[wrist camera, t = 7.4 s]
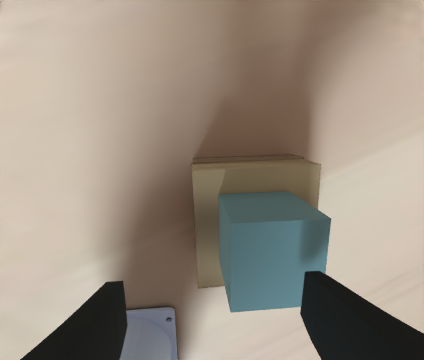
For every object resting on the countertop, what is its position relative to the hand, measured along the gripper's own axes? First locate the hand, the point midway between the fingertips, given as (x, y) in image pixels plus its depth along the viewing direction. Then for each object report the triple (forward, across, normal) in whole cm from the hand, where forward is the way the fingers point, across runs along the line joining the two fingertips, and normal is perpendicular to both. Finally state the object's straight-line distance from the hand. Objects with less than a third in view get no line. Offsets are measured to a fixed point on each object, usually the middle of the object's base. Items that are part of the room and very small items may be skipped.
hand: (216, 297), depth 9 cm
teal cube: (+6, -3, 0) cm, 7 cm away
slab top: (+8, -3, 0) cm, 9 cm away
